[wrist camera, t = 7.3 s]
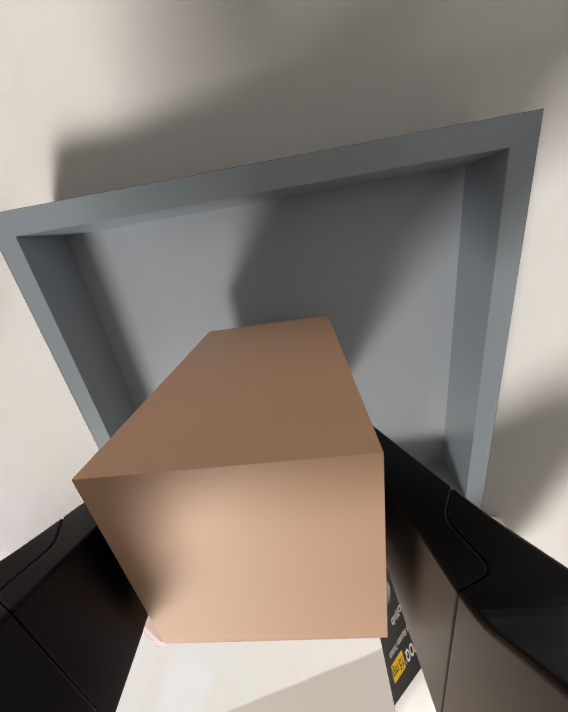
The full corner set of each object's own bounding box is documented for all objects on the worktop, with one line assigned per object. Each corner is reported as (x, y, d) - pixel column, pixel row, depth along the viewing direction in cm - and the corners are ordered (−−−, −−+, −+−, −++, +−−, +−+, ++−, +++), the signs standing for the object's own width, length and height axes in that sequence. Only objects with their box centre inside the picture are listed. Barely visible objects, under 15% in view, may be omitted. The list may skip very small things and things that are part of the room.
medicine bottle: (393, 498, 18) (545, 906, 7) (501, 514, 18) (815, 937, 7) (363, 568, 21) (440, 939, 10) (457, 581, 21) (637, 961, 10)
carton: (234, 428, 14) (164, 644, 6) (209, 331, 12) (72, 480, 5) (337, 417, 13) (387, 637, 6) (327, 315, 12) (383, 452, 4)
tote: (163, 488, 19) (140, 532, 16) (51, 220, 13) (-18, 215, 10) (450, 464, 17) (481, 508, 14) (480, 141, 11) (543, 108, 8)
